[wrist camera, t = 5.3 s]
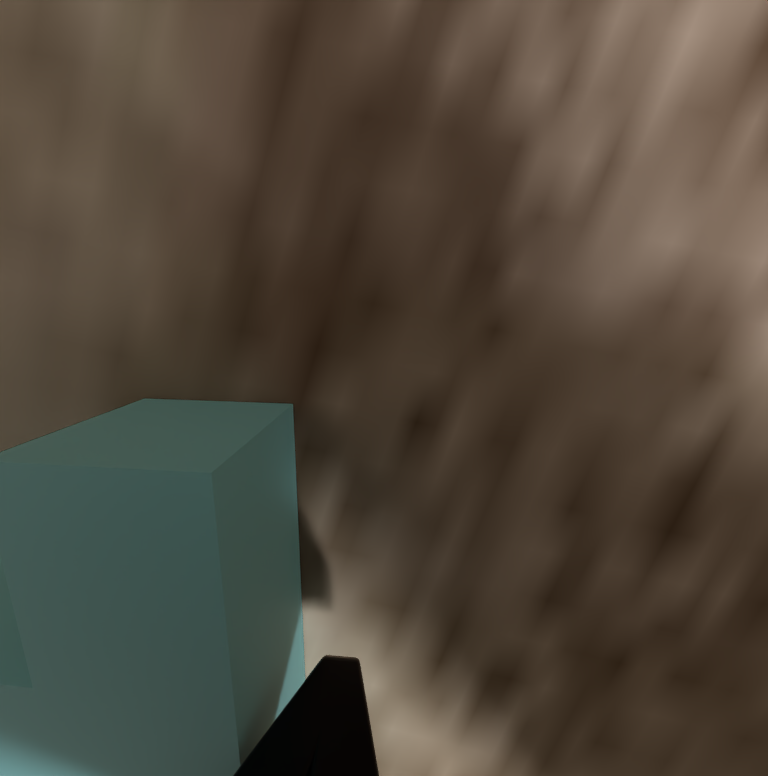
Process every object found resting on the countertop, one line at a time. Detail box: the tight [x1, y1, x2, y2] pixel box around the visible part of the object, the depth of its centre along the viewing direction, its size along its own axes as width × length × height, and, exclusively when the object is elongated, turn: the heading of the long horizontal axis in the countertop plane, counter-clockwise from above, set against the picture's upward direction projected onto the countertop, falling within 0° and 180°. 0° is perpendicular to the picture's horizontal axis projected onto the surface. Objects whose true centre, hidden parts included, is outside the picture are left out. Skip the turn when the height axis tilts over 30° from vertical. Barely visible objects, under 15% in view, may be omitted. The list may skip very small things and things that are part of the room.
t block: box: [0, 398, 305, 776], centre depth 7 cm, size 8×10×3 cm
